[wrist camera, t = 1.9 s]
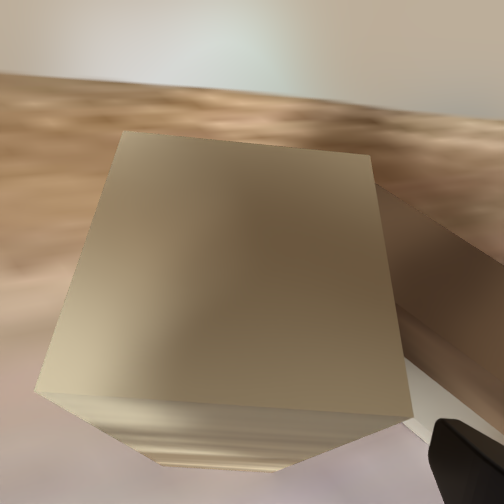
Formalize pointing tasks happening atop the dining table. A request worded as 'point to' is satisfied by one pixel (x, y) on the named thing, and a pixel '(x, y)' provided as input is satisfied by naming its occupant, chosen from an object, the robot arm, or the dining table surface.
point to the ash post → (231, 306)
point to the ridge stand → (446, 321)
